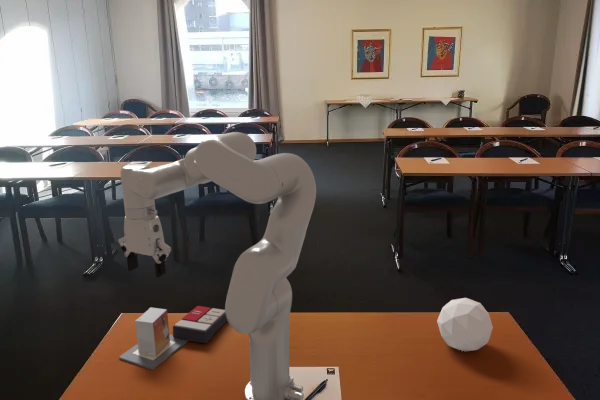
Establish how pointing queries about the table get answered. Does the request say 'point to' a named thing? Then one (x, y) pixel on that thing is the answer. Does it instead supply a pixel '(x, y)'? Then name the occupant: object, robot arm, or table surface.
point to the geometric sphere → (465, 324)
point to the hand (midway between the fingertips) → (147, 272)
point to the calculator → (199, 324)
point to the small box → (152, 331)
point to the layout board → (153, 361)
